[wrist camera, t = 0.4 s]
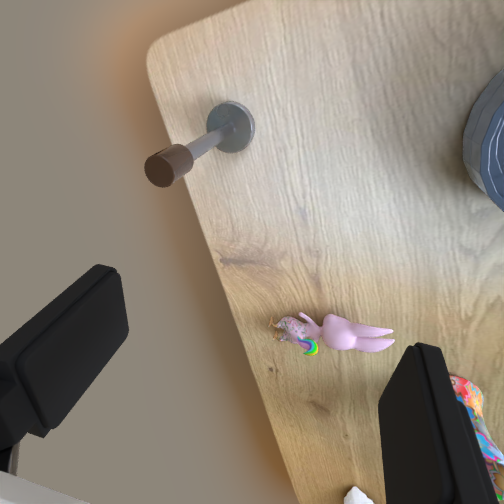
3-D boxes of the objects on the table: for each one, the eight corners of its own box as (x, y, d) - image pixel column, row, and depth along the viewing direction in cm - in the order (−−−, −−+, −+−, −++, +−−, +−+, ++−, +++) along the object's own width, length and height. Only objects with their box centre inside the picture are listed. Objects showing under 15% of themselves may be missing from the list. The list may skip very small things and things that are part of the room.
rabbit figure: (282, 333, 46) (396, 345, 39) (267, 366, 42) (393, 386, 34) (272, 299, 43) (392, 304, 36) (255, 330, 39) (388, 343, 32)
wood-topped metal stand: (201, 118, 32) (110, 158, 20) (237, 90, 30) (160, 115, 18) (227, 158, 34) (157, 219, 21) (263, 134, 31) (209, 186, 19)
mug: (481, 365, 39) (520, 455, 30) (486, 414, 43) (522, 507, 34) (377, 370, 44) (385, 450, 35) (390, 414, 47) (400, 496, 38)
